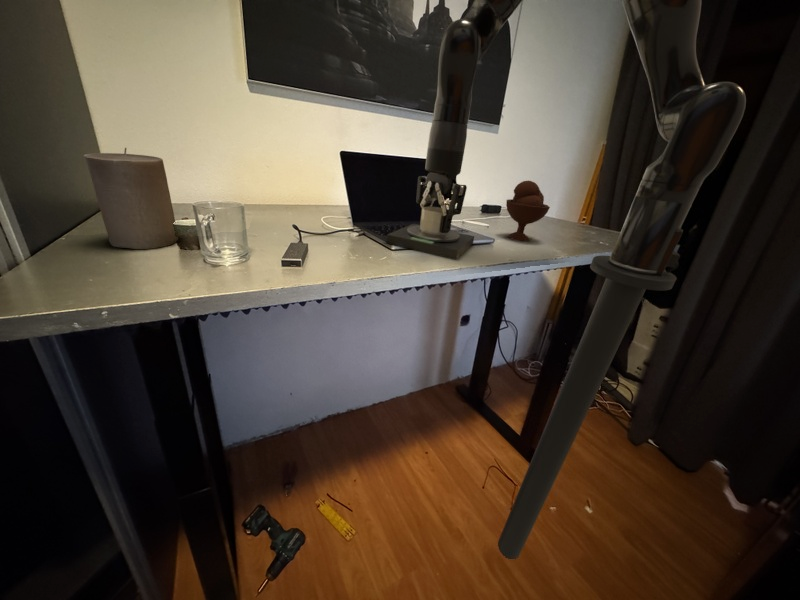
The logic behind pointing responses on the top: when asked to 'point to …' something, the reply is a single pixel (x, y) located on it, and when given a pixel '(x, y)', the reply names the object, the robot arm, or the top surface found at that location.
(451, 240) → the scale pan
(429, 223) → the squat beige cylinder
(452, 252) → the scale
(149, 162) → the pillar candle
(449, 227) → the robot arm
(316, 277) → the top surface
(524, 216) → the ice cream bowl
